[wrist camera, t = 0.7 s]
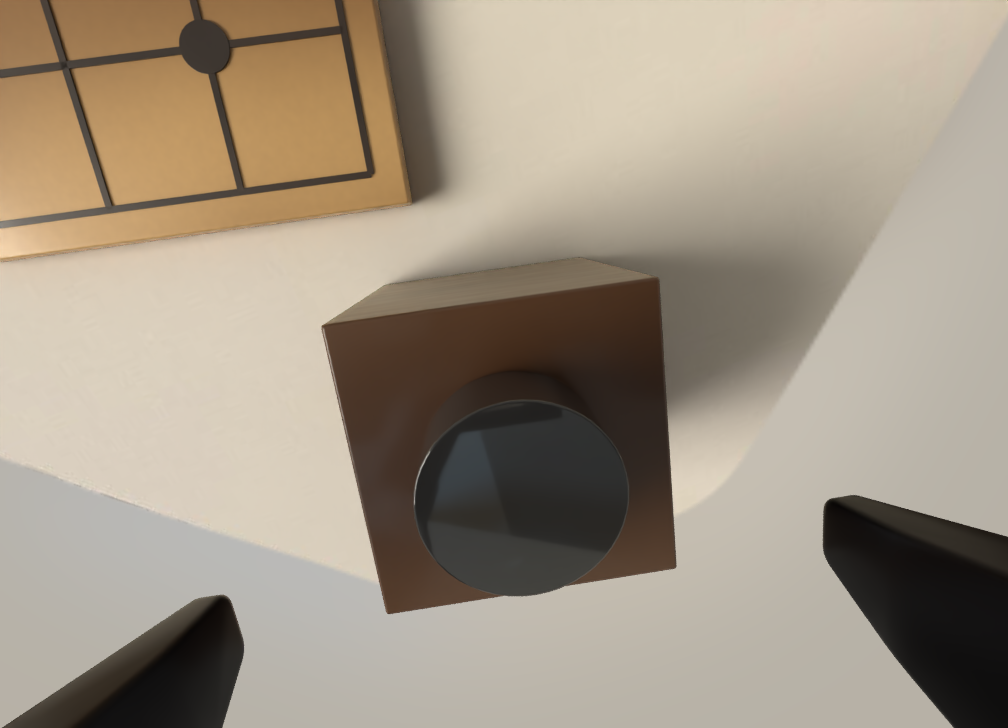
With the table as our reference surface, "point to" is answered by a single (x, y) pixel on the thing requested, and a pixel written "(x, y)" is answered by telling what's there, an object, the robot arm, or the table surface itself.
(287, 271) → the table surface
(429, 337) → the stone stand
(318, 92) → the board
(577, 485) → the game stone
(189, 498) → the table surface
